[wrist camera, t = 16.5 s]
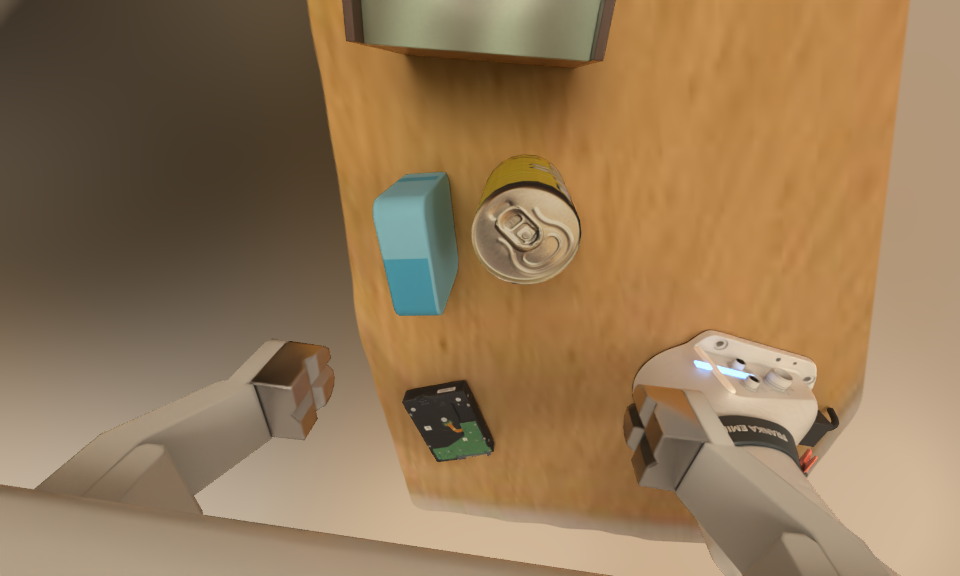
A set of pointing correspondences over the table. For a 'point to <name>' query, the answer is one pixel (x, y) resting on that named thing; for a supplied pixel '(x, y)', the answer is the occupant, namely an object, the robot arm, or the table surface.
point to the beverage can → (525, 222)
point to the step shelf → (485, 29)
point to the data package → (417, 242)
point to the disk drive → (449, 421)
